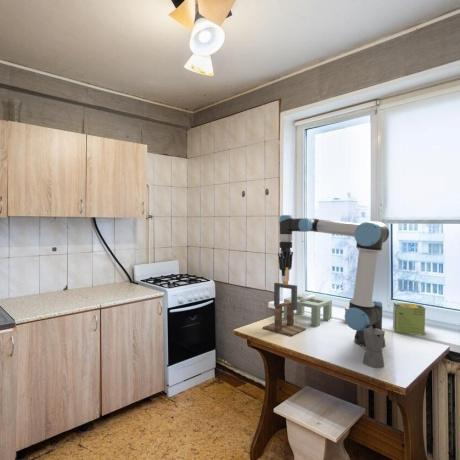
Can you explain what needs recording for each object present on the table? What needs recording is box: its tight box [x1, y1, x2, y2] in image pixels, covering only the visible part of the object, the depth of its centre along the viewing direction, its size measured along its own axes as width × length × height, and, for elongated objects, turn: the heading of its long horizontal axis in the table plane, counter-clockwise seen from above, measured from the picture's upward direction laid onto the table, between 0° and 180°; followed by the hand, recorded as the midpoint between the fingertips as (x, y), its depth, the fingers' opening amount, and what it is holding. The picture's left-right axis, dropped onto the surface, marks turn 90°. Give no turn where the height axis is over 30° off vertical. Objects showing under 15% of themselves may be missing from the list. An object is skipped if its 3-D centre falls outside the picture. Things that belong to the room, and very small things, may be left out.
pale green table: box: [283, 293, 333, 328], centre depth 217 cm, size 20×24×15 cm
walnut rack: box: [262, 301, 307, 338], centre depth 196 cm, size 16×20×16 cm
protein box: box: [392, 302, 426, 336], centre depth 196 cm, size 10×15×16 cm
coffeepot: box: [362, 324, 386, 369], centre depth 151 cm, size 15×9×18 cm, turn 174°
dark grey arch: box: [273, 267, 298, 311], centre depth 196 cm, size 2×14×24 cm, turn 48°
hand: (285, 280), depth 196 cm, fingers closed on dark grey arch, 2 cm apart
